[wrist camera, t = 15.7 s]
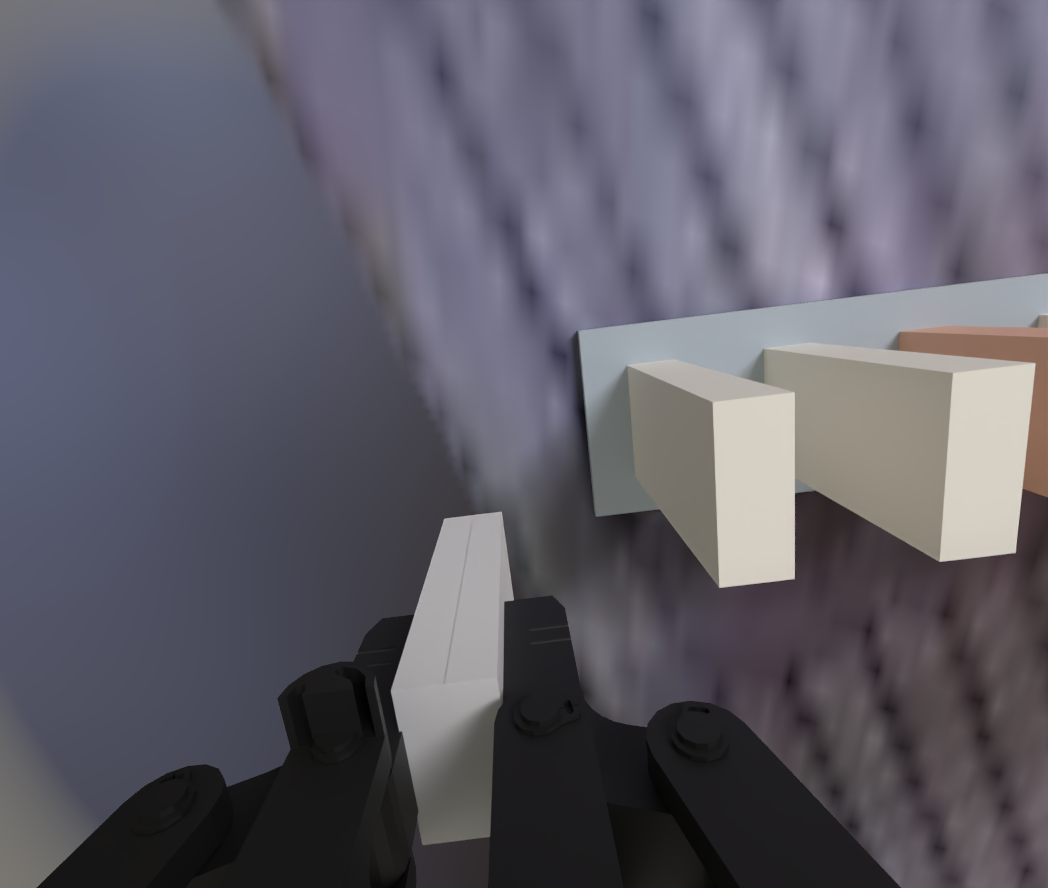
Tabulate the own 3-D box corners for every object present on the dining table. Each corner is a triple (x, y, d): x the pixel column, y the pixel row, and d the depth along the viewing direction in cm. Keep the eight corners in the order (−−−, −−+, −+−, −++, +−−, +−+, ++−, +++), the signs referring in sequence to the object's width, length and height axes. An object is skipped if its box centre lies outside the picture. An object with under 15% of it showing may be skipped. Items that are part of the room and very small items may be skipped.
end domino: (674, 359, 27) (794, 392, 16) (679, 471, 29) (794, 578, 17) (627, 365, 27) (712, 402, 16) (635, 476, 29) (719, 587, 17)
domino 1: (811, 342, 27) (1035, 362, 15) (810, 456, 29) (1015, 553, 17) (763, 348, 27) (953, 373, 15) (765, 461, 29) (939, 561, 17)
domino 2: (946, 325, 27) (1275, 332, 15) (939, 439, 28) (1236, 525, 17) (899, 331, 27) (1192, 343, 15) (894, 445, 28) (1159, 535, 17)
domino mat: (1263, 246, 27) (1279, 245, 26) (1225, 437, 29) (1240, 440, 29) (577, 330, 27) (578, 330, 27) (594, 513, 30) (596, 516, 29)
